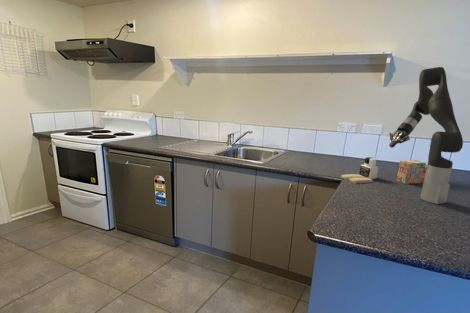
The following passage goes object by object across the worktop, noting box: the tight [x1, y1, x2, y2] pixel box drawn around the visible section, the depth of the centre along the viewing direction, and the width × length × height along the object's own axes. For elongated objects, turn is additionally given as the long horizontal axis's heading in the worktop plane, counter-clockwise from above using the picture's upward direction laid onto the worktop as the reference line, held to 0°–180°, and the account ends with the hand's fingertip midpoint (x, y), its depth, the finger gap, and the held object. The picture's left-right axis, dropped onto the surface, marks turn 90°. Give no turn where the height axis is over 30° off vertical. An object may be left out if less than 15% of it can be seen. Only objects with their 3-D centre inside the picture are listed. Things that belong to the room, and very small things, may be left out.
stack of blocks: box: [395, 159, 427, 185], centre depth 158 cm, size 21×6×12 cm, turn 104°
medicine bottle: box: [358, 156, 379, 180], centre depth 162 cm, size 7×7×12 cm
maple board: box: [340, 173, 374, 184], centre depth 158 cm, size 12×12×1 cm
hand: (390, 146), depth 166 cm, fingers closed
